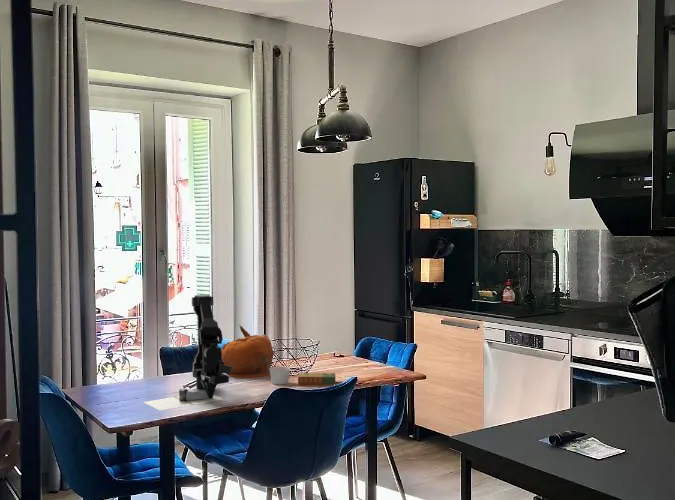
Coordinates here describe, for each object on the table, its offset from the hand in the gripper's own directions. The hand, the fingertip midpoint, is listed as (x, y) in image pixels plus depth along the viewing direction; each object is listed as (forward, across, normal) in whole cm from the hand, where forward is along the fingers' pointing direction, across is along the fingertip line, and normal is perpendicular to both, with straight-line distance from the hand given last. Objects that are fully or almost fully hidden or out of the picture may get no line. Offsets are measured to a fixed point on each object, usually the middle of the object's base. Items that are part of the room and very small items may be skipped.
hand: (210, 398), depth 260 cm
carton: (+3, +1, -52) cm, 52 cm away
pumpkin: (+2, +40, -41) cm, 57 cm away
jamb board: (+2, +7, +8) cm, 11 cm away
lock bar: (+1, +5, +4) cm, 6 cm away
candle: (+2, +13, -40) cm, 42 cm away
